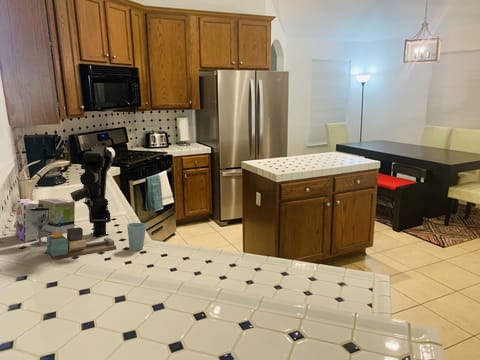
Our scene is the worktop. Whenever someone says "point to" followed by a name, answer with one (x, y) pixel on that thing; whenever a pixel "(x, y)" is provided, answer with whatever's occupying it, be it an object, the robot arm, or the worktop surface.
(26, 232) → the candy box
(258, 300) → the worktop surface
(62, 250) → the rail
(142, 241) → the cup
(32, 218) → the wine glass
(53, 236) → the button
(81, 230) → the carriage
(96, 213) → the robot arm
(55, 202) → the tea box
